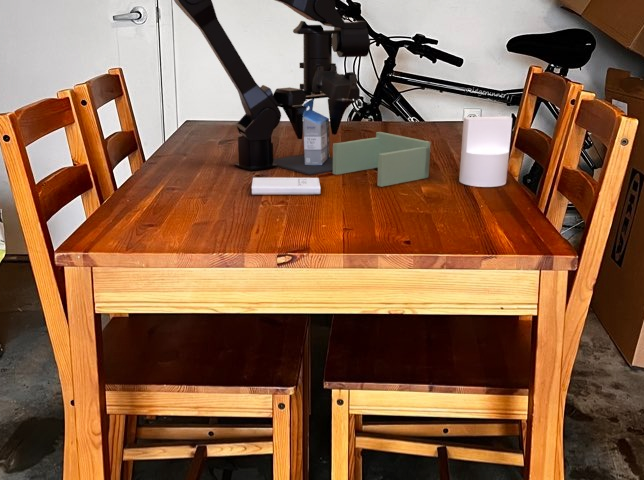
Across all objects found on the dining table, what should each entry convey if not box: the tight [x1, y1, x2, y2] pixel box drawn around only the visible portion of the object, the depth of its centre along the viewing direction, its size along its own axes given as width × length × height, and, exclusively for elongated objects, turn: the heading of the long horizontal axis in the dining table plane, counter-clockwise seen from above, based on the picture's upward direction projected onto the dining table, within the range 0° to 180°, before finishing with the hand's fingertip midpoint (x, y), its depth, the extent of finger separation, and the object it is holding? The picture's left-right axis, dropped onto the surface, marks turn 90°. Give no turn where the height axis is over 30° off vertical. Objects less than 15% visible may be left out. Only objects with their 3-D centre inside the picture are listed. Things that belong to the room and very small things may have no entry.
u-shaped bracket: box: [332, 131, 432, 188], centre depth 161 cm, size 13×14×7 cm
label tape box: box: [303, 99, 331, 165], centre depth 170 cm, size 9×4×12 cm, turn 167°
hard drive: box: [251, 177, 321, 196], centre depth 151 cm, size 2×8×12 cm
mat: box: [272, 154, 333, 176], centre depth 172 cm, size 14×16×1 cm
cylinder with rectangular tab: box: [458, 115, 513, 188], centre depth 155 cm, size 9×9×12 cm
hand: (317, 136), depth 171 cm, fingers open, 9 cm apart
